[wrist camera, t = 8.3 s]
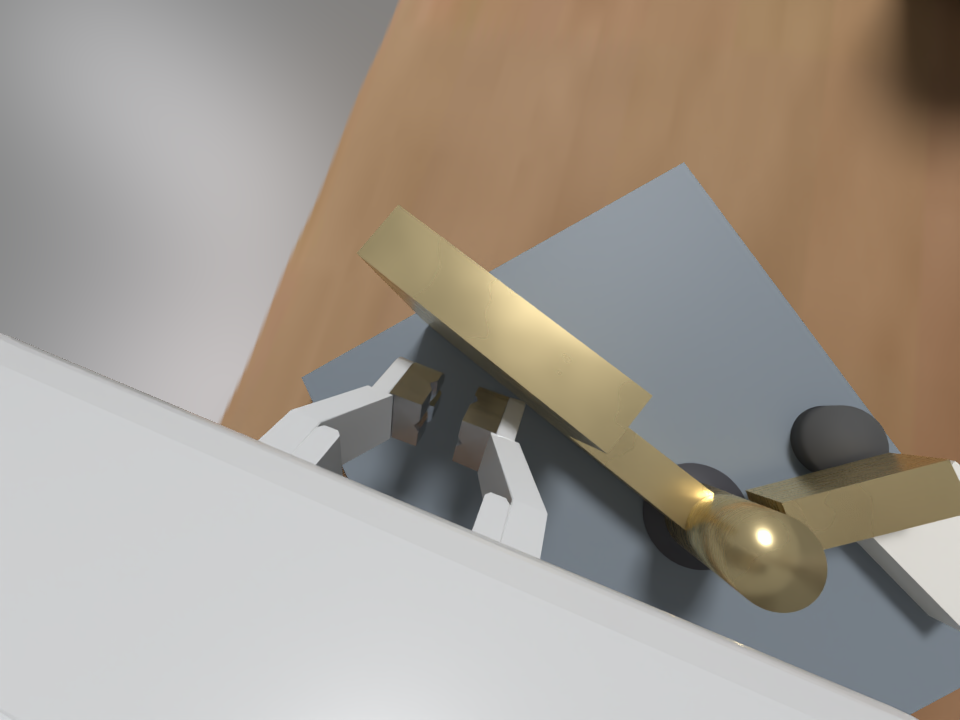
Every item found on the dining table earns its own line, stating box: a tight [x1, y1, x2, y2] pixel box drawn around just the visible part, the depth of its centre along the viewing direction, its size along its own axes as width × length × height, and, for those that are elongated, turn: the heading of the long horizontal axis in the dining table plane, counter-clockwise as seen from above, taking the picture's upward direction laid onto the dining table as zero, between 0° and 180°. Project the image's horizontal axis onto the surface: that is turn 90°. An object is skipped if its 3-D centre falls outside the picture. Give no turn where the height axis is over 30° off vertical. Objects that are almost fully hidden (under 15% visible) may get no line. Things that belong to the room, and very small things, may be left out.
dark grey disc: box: [790, 405, 889, 472], centre depth 14 cm, size 3×3×1 cm
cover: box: [857, 461, 960, 631], centre depth 13 cm, size 4×4×1 cm
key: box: [357, 205, 960, 613], centre depth 11 cm, size 19×6×7 cm, turn 66°
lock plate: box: [302, 163, 960, 715], centre depth 15 cm, size 20×22×2 cm
